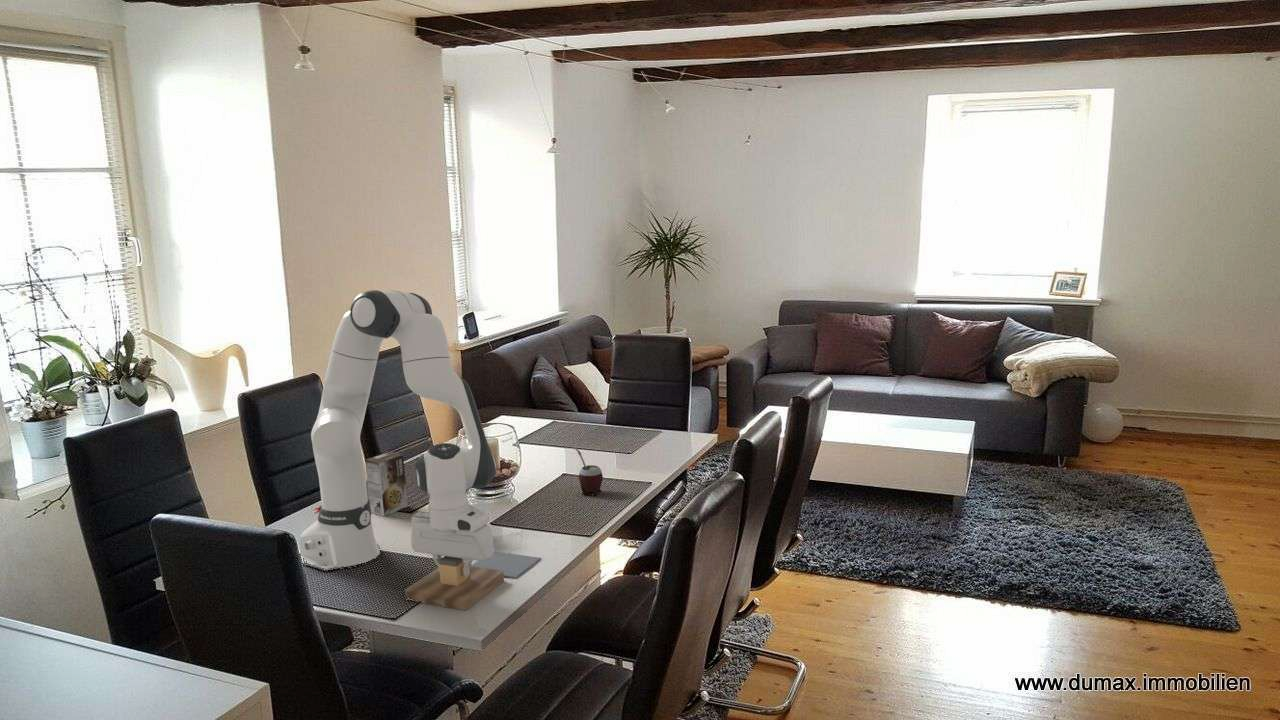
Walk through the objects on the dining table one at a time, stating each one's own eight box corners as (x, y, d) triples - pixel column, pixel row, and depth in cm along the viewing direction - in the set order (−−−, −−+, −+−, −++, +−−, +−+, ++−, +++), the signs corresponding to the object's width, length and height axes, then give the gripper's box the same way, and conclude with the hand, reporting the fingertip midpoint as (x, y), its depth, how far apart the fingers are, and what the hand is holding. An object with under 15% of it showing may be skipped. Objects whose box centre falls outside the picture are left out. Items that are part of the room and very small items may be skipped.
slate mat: (465, 571, 223) (465, 569, 223) (492, 552, 234) (492, 550, 234) (515, 578, 217) (515, 577, 217) (540, 559, 228) (540, 557, 228)
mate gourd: (607, 494, 274) (605, 445, 272) (584, 499, 270) (581, 450, 268) (595, 487, 281) (593, 440, 278) (572, 493, 277) (569, 444, 274)
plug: (441, 593, 211) (438, 560, 210) (452, 585, 215) (449, 552, 214) (458, 595, 209) (455, 562, 208) (469, 587, 214) (466, 555, 212)
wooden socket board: (405, 600, 208) (404, 589, 208) (446, 572, 223) (445, 562, 222) (465, 610, 202) (464, 599, 202) (504, 581, 216) (503, 570, 216)
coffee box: (394, 503, 274) (389, 450, 270) (409, 507, 270) (404, 453, 267) (369, 513, 266) (364, 459, 263) (384, 516, 263) (378, 462, 260)
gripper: (402, 516, 210) (408, 573, 213) (480, 525, 202) (484, 584, 205) (419, 506, 216) (424, 562, 218) (495, 515, 208) (499, 573, 211)
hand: (454, 573), depth 212 cm, fingers closed on plug, 4 cm apart
